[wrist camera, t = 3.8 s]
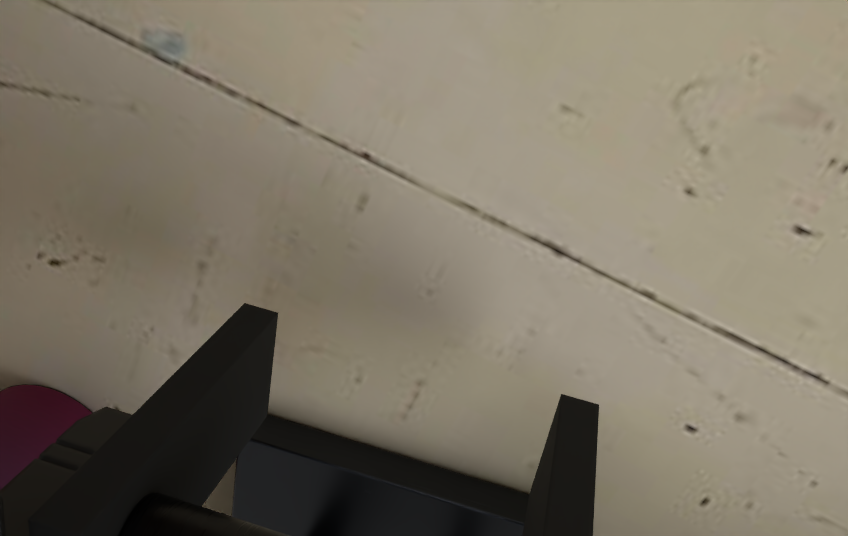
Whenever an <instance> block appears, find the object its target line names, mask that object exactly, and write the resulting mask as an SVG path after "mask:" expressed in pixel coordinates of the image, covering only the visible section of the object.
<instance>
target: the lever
mask: <svg viewBox="0 0 848 536" xmlns="http://www.w3.org/2000/svg"><path fill="white" fill-rule="evenodd" d="M119 536H289V535H286V534H283V533H280V532H277V531H274V530H271V529H268V528H265V527H262V526H259V525H256V524H253V523H250V522H247V521H244V520H241V519H237V518H234V517H231V516H228V515H225V514H222V513H219V512H216V511H213V510H210V509H207V508H204V507H201V506H198V505H195V504H192V503H189V502H186V501H183V500H180V499H177V498H173V497H170V496H167V495H164V494H161V493H152V494H149V495H147V496H146V497H145V498H144V499H142V500H141V501H140V502H139V504H138V505H137V506H136V507H135V509H134V510H133V511H132V513H131V514H130V516H129V517H128V519H127V521H126V523H125V525H124V526H123V528H122V530H121V533H120V535H119Z"/></svg>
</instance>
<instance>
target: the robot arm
mask: <svg viewBox="0 0 848 536" xmlns="http://www.w3.org/2000/svg"><path fill="white" fill-rule="evenodd" d="M277 319H278V313H277V312H273V311H270V310H266V309H263V308H259V307H256V306H253V305H249V304H246V303H244V304H243V305H242V306H241V307H240V308H239V309H238V310H237V311H236V312H235V313H234V314H233V315H232V316H231V317H230V318H229V319H228V320H227V321H226V322H225V323H224V324H223V325H222V326H221V327H220V328H219V329H218V330H217V331H216V332H215V333H214V334H213V335H212V336H211V337H210V338H209V339H208V340H207V341H206V342H205V343H204V344H203V345H202V346H201V347H200V348H199V349H198V350H197V351H196V352H195V353H194V354H193V355H192V356H191V357H190V358H189V359H188V360H187V361H186V362H185V363H184V364H183V365H182V366H181V367H180V368H179V369H178V370H177V371H176V372H175V373H174V374H173V375H172V376H171V377H170V378H169V379H168V380H167V381H166V382H165V383H164V384H163V385H162V386H161V387H160V388H159V389H158V390H157V391H156V392H155V393H154V394H153V395H152V396H151V397H150V398H149V399H148V400H147V401H146V402H145V403H144V404H143V405H142V406H141V407H140V408H139V409H138V410H137V411H136V412H135V413H134V414H133V415H131V414H128V413H124V412H121V411H118V410H115V409H112V408H108V407H104V408H102V409H100V410H98V411H96V412H94V413H92V414H89V415H87V416H85V417H83V418H81V419H79V420H77V421H76V422H75V423H74V424H73V425H72V426H70V427H69V428H68V429H67V430H66V431H65V432H64V433H63V434H62V435H61V436H59V437H58V438H57V440H56V442H55V443H52V444H51V445H49V446H48V447H47V448H46V449H45V450H44V451H43V452H42V453H41V454H40V456H39V458H38V459H36V458H35V459H34V460H33V461H32V462H31V463H30V464H29V465H27V466H26V467H25V468H24V469H23V470H22V471H21V472H20V473H19V474H17V475H16V476H15V477H14V478H13V479H12V480H11V481H10V482H9V483H8V484H6V485H5V486H4V487H3V488H2V489H1V490H0V536H119V535H120V533H121V530H122V528H123V526H124V525H125V523H126V521H127V519H128V517H129V516H130V514H131V513H132V511H133V510H134V509H135V507H136V506H137V505H138V504H139V502H140V501H141V500H142V499H144V498H145V497H146V496H147V495H149V494H152V493H161V494H164V495H167V496H170V497H173V498H177V499H180V500H183V501H186V502H189V503H192V504H195V505H198V506H202V505H203V504H204V502H205V501H206V500H207V498H208V497H209V495H210V494H211V493H212V491H213V490H214V489H215V487H216V486H217V484H218V483H219V482H220V480H221V479H222V477H223V476H224V475H225V473H226V472H227V471H228V469H229V468H230V466H231V465H232V464H233V462H234V461H235V460H236V458H237V457H238V455H239V454H240V453H241V451H242V450H243V449H244V447H245V446H246V444H247V443H248V442H249V440H250V439H251V437H252V436H253V435H254V433H255V432H256V431H257V429H258V428H259V426H260V425H261V424H262V422H263V421H264V420H265V418H266V417H267V412H268V403H269V394H270V384H271V375H272V365H273V356H274V347H275V337H276V328H277ZM598 414H599V405H598V404H594V403H591V402H587V401H584V400H580V399H577V398H573V397H570V396H566V395H563V394H561V397H560V400H559V403H558V406H557V409H556V412H555V416H554V419H553V422H552V425H551V428H550V431H549V434H548V437H547V441H546V444H545V447H544V450H543V453H542V456H541V459H540V463H539V466H538V469H537V472H536V475H535V478H534V481H533V485H532V488H531V491H530V494H529V498H528V504H527V510H526V516H525V522H524V528H523V535H522V536H593V519H594V498H595V477H596V456H597V435H598Z"/></svg>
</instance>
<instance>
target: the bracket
mask: <svg viewBox="0 0 848 536" xmlns="http://www.w3.org/2000/svg"><path fill="white" fill-rule="evenodd" d="M528 498H529V494H526V493H523V492H519V491H516V490H513V489H509V488H506V487H503V486H500V485H496V484H493V483H490V482H487V481H483V480H480V479H477V478H474V477H470V476H467V475H464V474H461V473H457V472H454V471H451V470H447V469H444V468H441V467H438V466H434V465H431V464H428V463H425V462H421V461H418V460H415V459H412V458H408V457H405V456H402V455H399V454H395V453H392V452H389V451H385V450H382V449H379V448H376V447H372V446H369V445H366V444H363V443H359V442H356V441H353V440H350V439H346V438H343V437H340V436H337V435H333V434H330V433H327V432H324V431H320V430H317V429H314V428H310V427H307V426H304V425H301V424H297V423H294V422H291V421H288V420H284V419H281V418H278V417H275V416H271V415H268V414H267V417H266V418H265V420H264V421H263V422H262V424H261V425H260V426H259V428H258V429H257V431H256V432H255V433H254V435H253V436H252V437H251V439H250V440H249V442H248V443H247V444H246V446H245V447H244V449H243V450H242V451H241V453H240V454H239V455H238V457H237V461H236V472H235V484H234V495H233V507H232V517H234V518H237V519H241V520H244V521H247V522H250V523H253V524H256V525H259V526H262V527H265V528H268V529H271V530H274V531H277V532H280V533H283V534H286V535H289V536H522V535H523V528H524V522H525V516H526V510H527V504H528Z"/></svg>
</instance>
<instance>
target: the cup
mask: <svg viewBox="0 0 848 536" xmlns="http://www.w3.org/2000/svg"><path fill="white" fill-rule="evenodd" d="M89 414H92V412H91V411H89V410H88V409H87V408H85V407H84V406H83V405H82V404H80V403H79V402H77V401H75V400H74V399H72V398H70V397H69V396H67V395H65V394H63V393H60V392H58V391H55V390H53V389H50V388H46V387H41V386H37V385H18V386H13V387H9V388H6V389H4V390H2V391H0V490H1V489H2V488H3V487H4V486H5V485H6V484H8V483H9V482H10V481H11V480H12V479H13V478H14V477H15V476H16V475H17V474H19V473H20V472H21V471H22V470H23V469H24V468H25V467H26V466H27V465H29V464H30V463H31V462H32V461H33V460H34V459H35V458H36V459H38V458H39V456H40V454H41V453H42V452H43V451H44V450H45V449H46V448H47V447H48V446H49V445H51V444H52V443H55V442H56V440H57V438H58V437H59V436H61V435H62V434H63V433H64V432H65V431H66V430H67V429H68V428H69V427H70V426H72V425H73V424H74V423H75V422H76V421H77V420H79V419H81V418H83V417H85V416H87V415H89Z"/></svg>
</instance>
